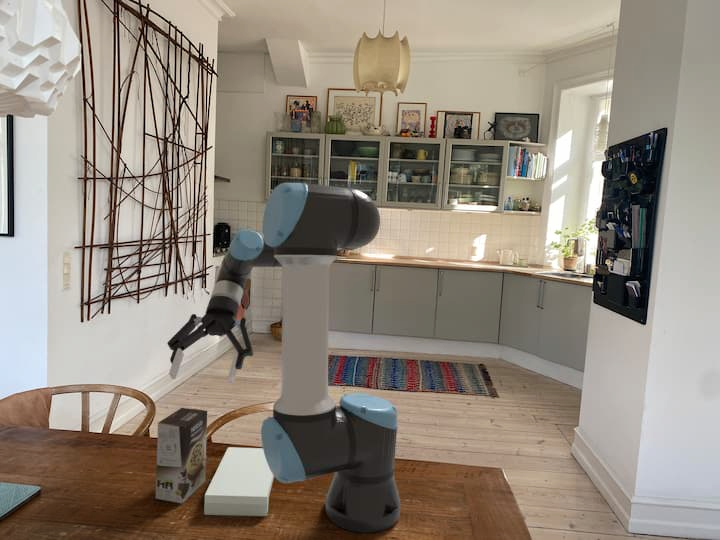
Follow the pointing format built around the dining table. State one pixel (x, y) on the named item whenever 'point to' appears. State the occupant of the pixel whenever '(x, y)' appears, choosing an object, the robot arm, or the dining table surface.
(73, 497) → the dining table surface
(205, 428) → the coffee box
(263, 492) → the shelf step
